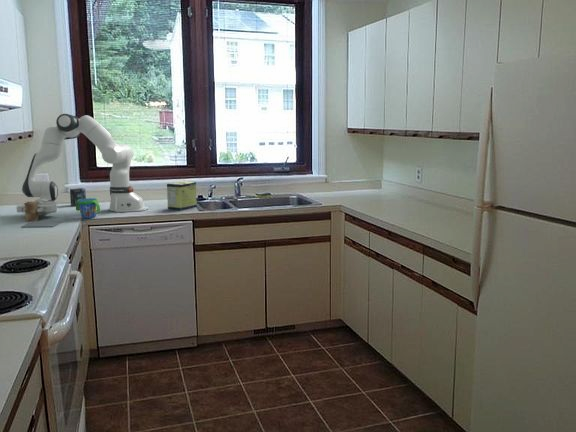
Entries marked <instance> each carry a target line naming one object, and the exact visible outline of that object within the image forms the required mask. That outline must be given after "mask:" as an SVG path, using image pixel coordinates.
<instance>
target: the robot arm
mask: <svg viewBox="0 0 576 432" xmlns="http://www.w3.org/2000/svg"><path fill="white" fill-rule="evenodd" d="M55 123H56V126H49V127H46V129H45V130H44V133H43V135H42V141H41V146H40V149H39V150H38V151H37V152H36V153H34V155H33V156H32V159H31V162H30V165H29V168H28V170H27V174H26V176H25V180H24V182H23V184H22V188H21V190H22V191H21V192H22V193H23V194H24V196H26V197H27V198H38V199H35V200H34V201H33V202H38V209H36V212H38V213H39V216H41V215H46V214H52V213H53V214H54V213H57V210H58V209H57V208H58V206H57V205H58V196H59V188H58V186H57V185H56V182H54V181H52V180H36V179H37V175H38V173H39V169H40V167H41V166H42V165H44V164H47V163H50V162H53V161H55V160H58V159H59V158H60V157H61V154H62V150H63V143H64V140H71V139H77V138H78V137H80V135H81V133H82V134H83V135H84V136H85V137H86V138H87V139H88V140H89V141H90V142H91V143H92V144H93V145H94V146H96V148H97V149H98V151H99V152H100V153H101V157H102V160H103V161H104V162H105V163H106V164H111V165H112V166H111V170H110V172H109V196H110V202H109V203H110V204H109V208H108V210H109V211H110V212H115V213H122V212H123V213H124V212H127V213H128V212H143V211H146V210H148V206H147V205H145V203H144V199H143V197H141V196H139V195H138V194H137V193H136V192H134V186H131V185H130V184H131V183H130V168H131V162H132V158H133V157H134V150H133V148H132V146H130V145H128V144H125V143H121V144H119V143H116V141H115V140H114V138H113V137H112V135H111V133H110V132H109V131H108V130H107V129H106V128H105V127H104V126H103V125H102V124H101V123H100V122H98V121H97V120H96V119H95V118H93V117H92V116H90V115H87V114H86V115H83V116H80V117H78V116H76V115H72V114H69V113H62V114H60V115H58V117H57V118H56V122H55ZM15 210H16V212H17V213H25V205H24V203H23V204H20V205H17V206H16V209H15Z"/></svg>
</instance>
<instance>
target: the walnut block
mask: <svg viewBox="0 0 576 432" xmlns="http://www.w3.org/2000/svg"><path fill="white" fill-rule="evenodd" d="M23 204H24V205H25V212H24V215H25V222H32V221H40V215H39V213H38V212H36V209H38V202H34V201H26V202H24V203H23Z"/></svg>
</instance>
